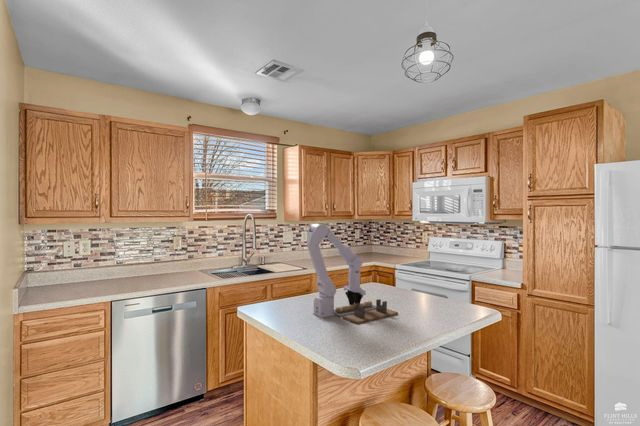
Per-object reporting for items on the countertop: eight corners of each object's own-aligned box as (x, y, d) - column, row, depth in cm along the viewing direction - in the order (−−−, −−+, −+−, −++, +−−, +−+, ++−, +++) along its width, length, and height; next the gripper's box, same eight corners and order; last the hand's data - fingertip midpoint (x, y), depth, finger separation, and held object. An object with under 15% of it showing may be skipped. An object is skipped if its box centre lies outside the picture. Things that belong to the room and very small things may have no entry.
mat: (339, 317, 159) (339, 315, 159) (328, 312, 167) (328, 311, 167) (379, 308, 174) (379, 307, 174) (367, 304, 182) (367, 303, 182)
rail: (338, 313, 163) (338, 307, 163) (335, 312, 165) (335, 307, 165) (372, 306, 176) (372, 301, 176) (369, 305, 178) (368, 300, 178)
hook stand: (356, 324, 149) (356, 309, 149) (342, 318, 157) (342, 304, 157) (397, 314, 164) (397, 301, 164) (383, 309, 172) (383, 296, 172)
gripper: (370, 281, 167) (370, 308, 167) (351, 276, 179) (351, 302, 179) (359, 282, 163) (359, 311, 163) (340, 278, 175) (340, 304, 175)
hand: (354, 306), depth 170 cm, fingers open, 3 cm apart
